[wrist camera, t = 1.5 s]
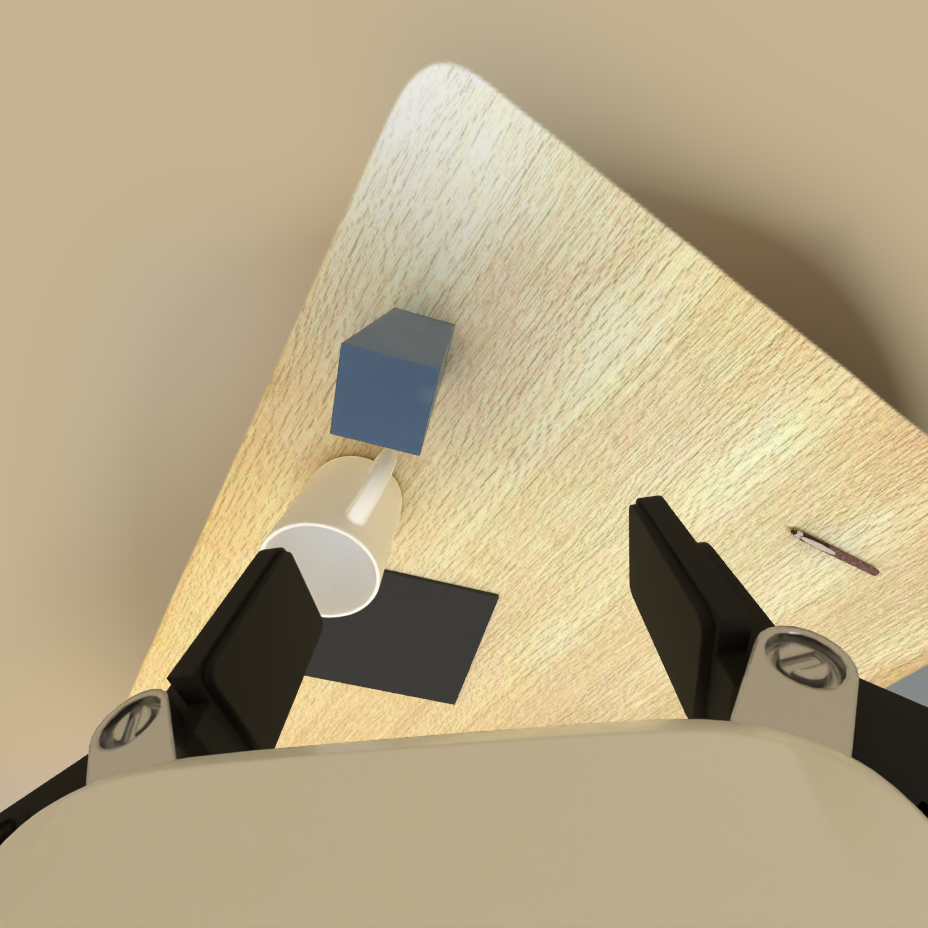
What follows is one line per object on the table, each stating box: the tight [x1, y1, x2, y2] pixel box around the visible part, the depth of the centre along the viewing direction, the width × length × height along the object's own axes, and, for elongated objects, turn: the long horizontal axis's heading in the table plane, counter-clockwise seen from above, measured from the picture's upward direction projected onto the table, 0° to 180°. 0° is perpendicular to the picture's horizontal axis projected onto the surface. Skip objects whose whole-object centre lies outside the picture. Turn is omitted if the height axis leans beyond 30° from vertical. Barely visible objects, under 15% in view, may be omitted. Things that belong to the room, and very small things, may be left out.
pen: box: [791, 530, 882, 577], centre depth 38 cm, size 11×1×1 cm, turn 64°
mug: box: [259, 448, 402, 617], centre depth 32 cm, size 12×8×10 cm
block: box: [330, 308, 454, 456], centre depth 25 cm, size 4×4×13 cm
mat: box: [305, 570, 499, 705], centre depth 45 cm, size 22×18×1 cm
